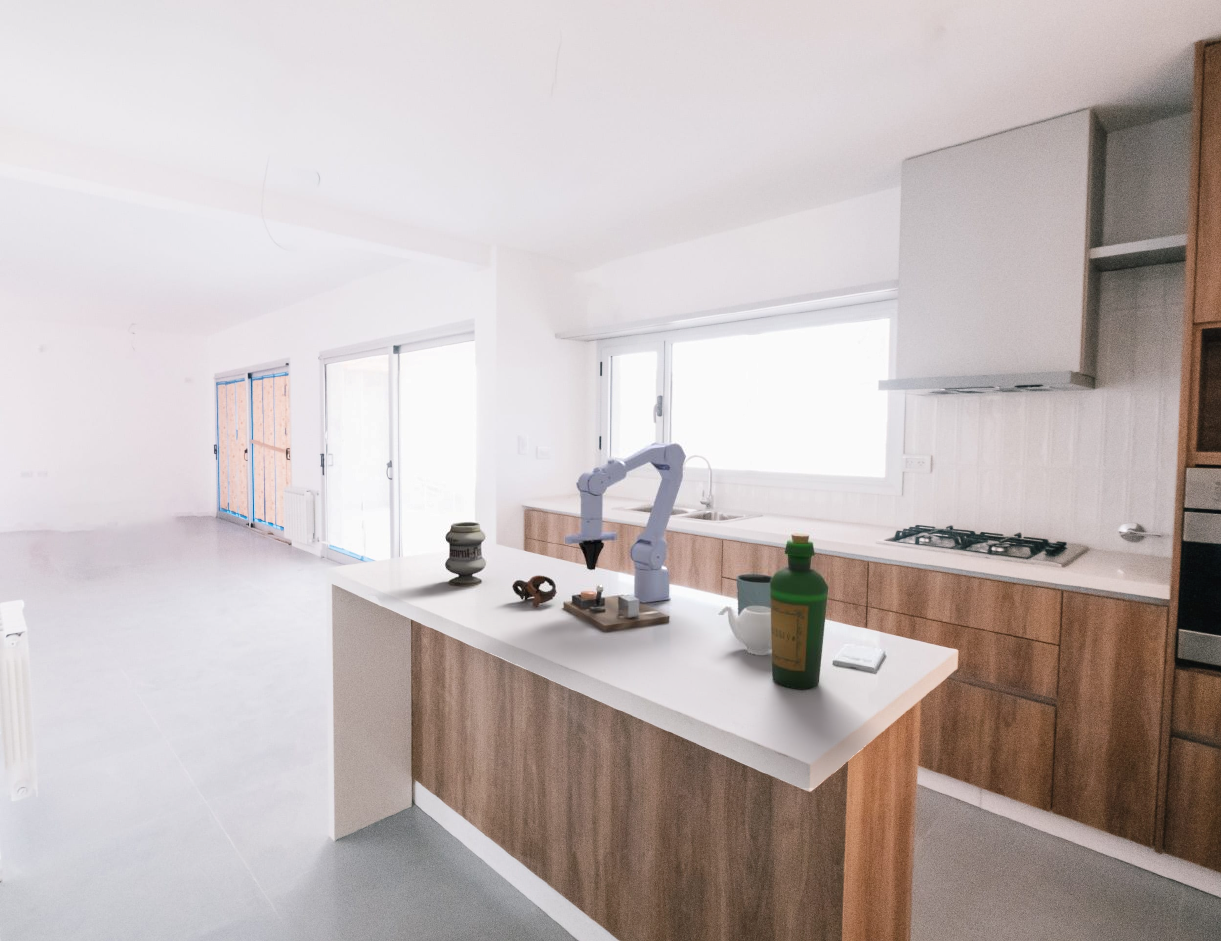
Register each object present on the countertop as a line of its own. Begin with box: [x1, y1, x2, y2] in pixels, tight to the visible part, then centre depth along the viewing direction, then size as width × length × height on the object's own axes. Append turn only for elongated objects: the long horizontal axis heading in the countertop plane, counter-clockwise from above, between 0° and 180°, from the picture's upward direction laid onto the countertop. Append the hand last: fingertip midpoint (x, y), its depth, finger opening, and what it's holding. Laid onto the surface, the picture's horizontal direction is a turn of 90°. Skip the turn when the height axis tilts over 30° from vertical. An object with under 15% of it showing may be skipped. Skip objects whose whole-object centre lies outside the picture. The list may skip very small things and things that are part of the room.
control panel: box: [563, 593, 670, 633], centre depth 166 cm, size 18×23×4 cm
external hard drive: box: [832, 643, 886, 673], centre depth 136 cm, size 2×8×12 cm
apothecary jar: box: [444, 521, 487, 587], centre depth 198 cm, size 12×12×18 cm
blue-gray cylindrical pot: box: [736, 573, 773, 617], centre depth 157 cm, size 10×10×12 cm
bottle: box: [770, 533, 829, 690], centre depth 123 cm, size 11×11×28 cm
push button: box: [580, 590, 597, 600], centre depth 170 cm, size 4×4×2 cm
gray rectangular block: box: [618, 594, 640, 618], centre depth 160 cm, size 3×5×4 cm, turn 29°
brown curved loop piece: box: [512, 575, 558, 608], centre depth 176 cm, size 12×10×8 cm
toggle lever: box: [593, 585, 604, 607], centre depth 163 cm, size 2×2×6 cm
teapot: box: [718, 605, 772, 656], centre depth 140 cm, size 10×20×9 cm, turn 49°
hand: (591, 569), depth 172 cm, fingers closed
